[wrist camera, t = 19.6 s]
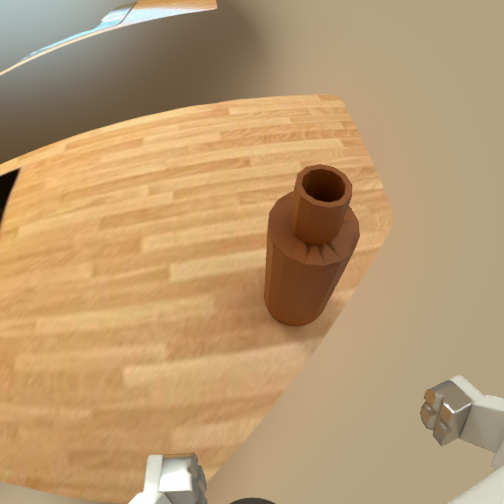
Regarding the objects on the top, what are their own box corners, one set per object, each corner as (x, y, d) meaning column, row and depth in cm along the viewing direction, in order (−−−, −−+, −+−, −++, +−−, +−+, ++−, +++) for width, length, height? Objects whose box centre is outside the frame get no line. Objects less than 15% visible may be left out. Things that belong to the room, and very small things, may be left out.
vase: (334, 315, 31) (394, 215, 17) (275, 333, 31) (292, 241, 16) (312, 263, 35) (346, 143, 20) (256, 278, 34) (256, 158, 19)
